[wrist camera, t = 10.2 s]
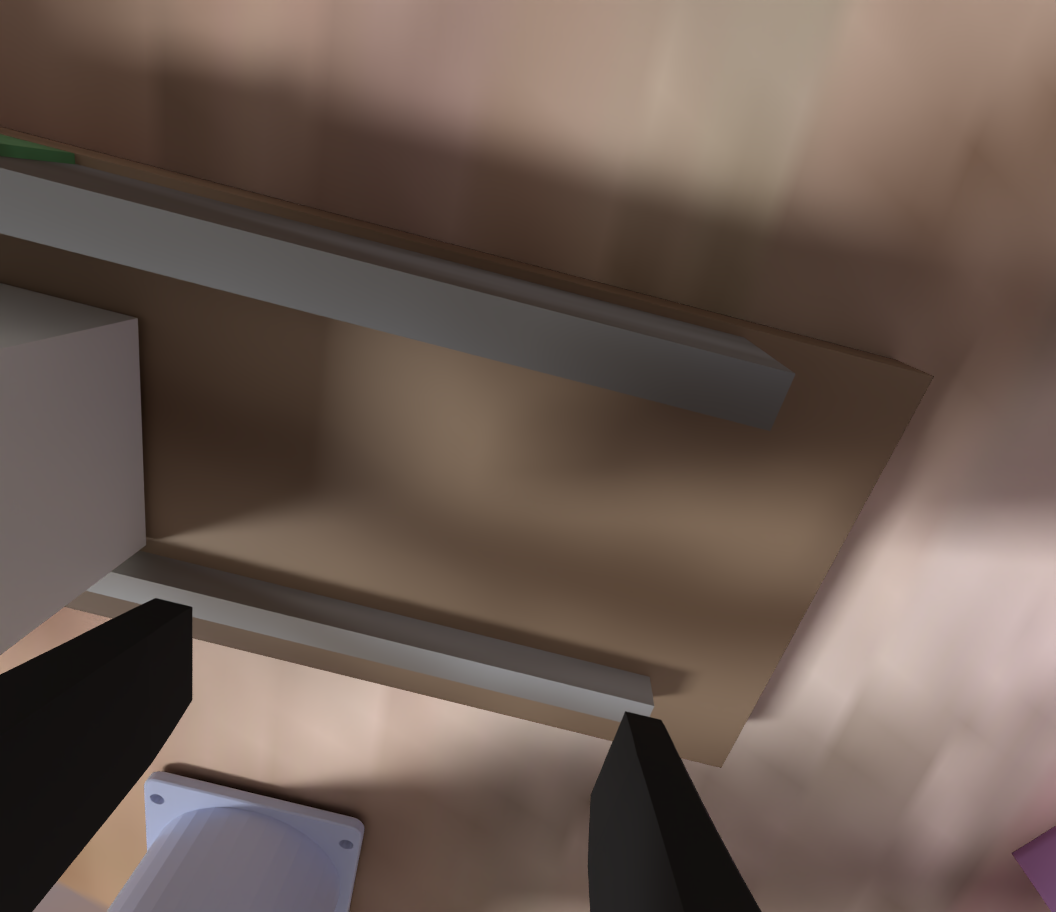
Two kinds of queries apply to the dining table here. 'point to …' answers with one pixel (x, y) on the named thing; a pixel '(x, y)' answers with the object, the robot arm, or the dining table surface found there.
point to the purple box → (1041, 865)
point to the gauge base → (457, 452)
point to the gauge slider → (65, 453)
